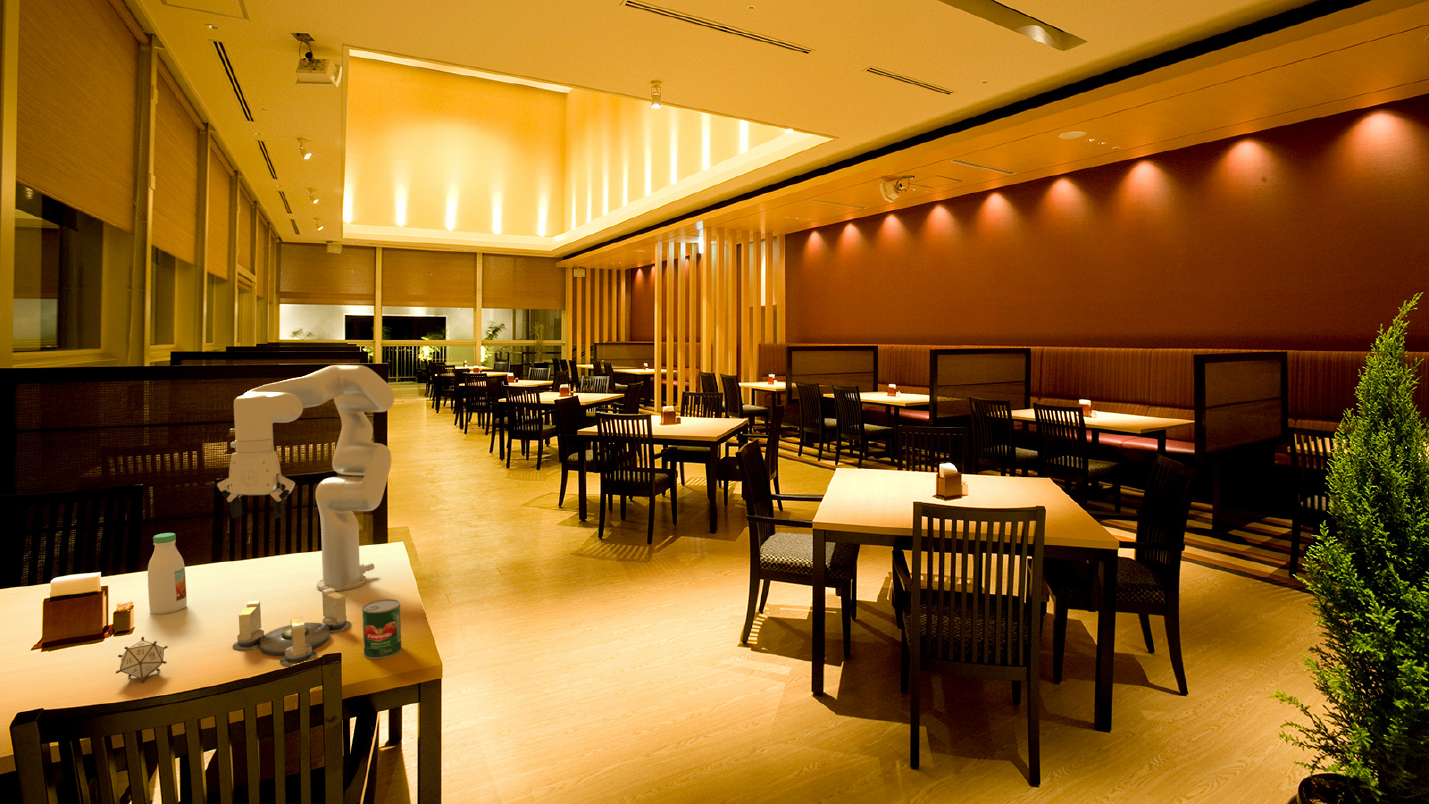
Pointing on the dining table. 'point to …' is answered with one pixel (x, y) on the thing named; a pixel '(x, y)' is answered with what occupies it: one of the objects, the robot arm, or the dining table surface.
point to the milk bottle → (166, 576)
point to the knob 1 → (250, 625)
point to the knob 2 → (298, 642)
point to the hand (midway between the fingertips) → (257, 516)
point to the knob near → (334, 609)
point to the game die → (142, 659)
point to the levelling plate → (281, 640)
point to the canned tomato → (381, 628)
